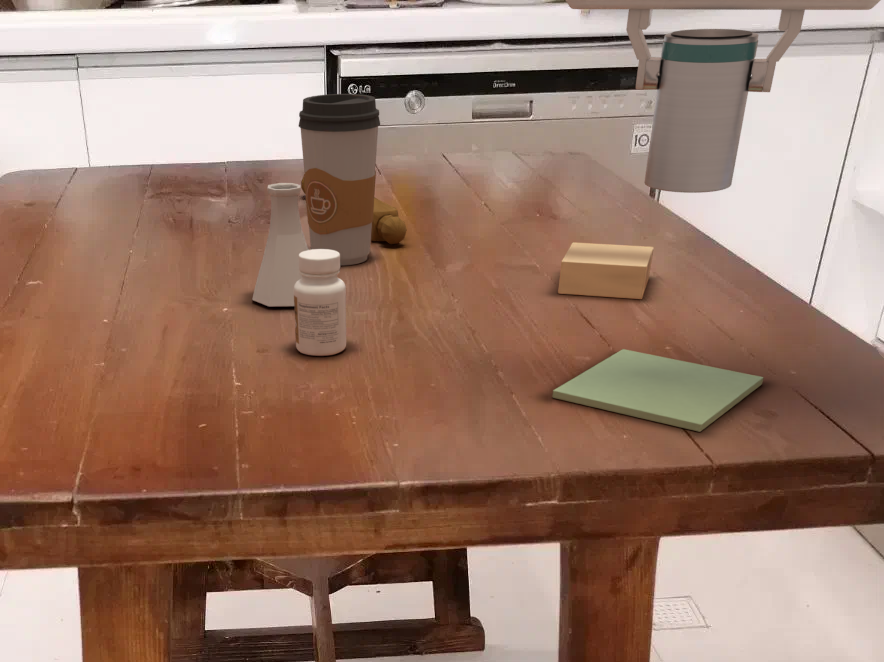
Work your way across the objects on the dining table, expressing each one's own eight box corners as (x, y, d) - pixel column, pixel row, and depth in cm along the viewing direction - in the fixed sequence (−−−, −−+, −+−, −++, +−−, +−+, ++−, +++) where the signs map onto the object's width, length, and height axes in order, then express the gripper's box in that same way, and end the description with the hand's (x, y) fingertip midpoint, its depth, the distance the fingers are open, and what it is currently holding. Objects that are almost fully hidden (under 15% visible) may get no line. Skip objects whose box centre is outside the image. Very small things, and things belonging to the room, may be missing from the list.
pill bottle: (309, 338, 98) (307, 245, 93) (354, 344, 96) (354, 249, 91) (286, 353, 94) (283, 257, 90) (332, 359, 93) (331, 262, 88)
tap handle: (321, 169, 143) (411, 216, 120) (321, 195, 145) (410, 246, 122) (299, 171, 142) (385, 219, 120) (299, 197, 144) (385, 249, 122)
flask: (242, 293, 109) (236, 181, 103) (312, 285, 111) (309, 175, 105) (262, 313, 104) (256, 197, 98) (334, 304, 105) (333, 190, 99)
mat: (762, 384, 86) (764, 376, 86) (700, 432, 79) (701, 424, 78) (621, 355, 92) (622, 348, 92) (551, 397, 85) (552, 390, 84)
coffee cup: (286, 260, 119) (280, 101, 109) (336, 245, 124) (334, 91, 114) (345, 272, 114) (344, 107, 105) (394, 256, 119) (397, 96, 110)
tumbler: (667, 28, 76) (660, 37, 71) (760, 28, 74) (759, 37, 70) (647, 174, 82) (639, 191, 77) (733, 176, 80) (730, 194, 75)
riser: (568, 273, 112) (572, 242, 111) (648, 278, 110) (653, 246, 109) (557, 293, 107) (561, 261, 105) (641, 299, 105) (646, 266, 103)
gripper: (566, -171, 67) (542, 93, 75) (934, -185, 61) (864, 100, 70) (580, -167, 71) (557, 80, 80) (923, -180, 66) (858, 86, 75)
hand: (702, 90), depth 75 cm, fingers closed on tumbler, 6 cm apart
